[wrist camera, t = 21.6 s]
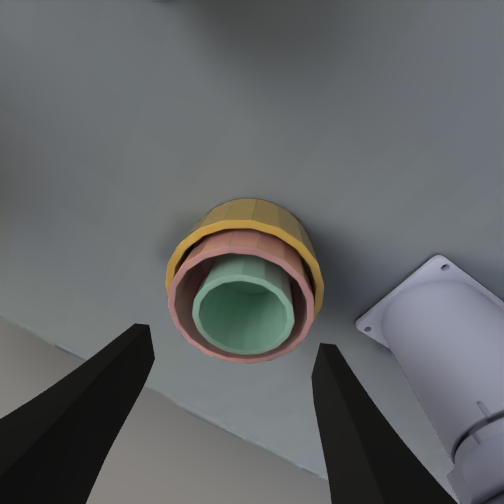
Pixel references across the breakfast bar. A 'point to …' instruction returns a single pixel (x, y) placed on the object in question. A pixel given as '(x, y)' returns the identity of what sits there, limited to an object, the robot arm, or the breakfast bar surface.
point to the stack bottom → (259, 218)
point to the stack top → (240, 243)
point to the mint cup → (244, 304)
